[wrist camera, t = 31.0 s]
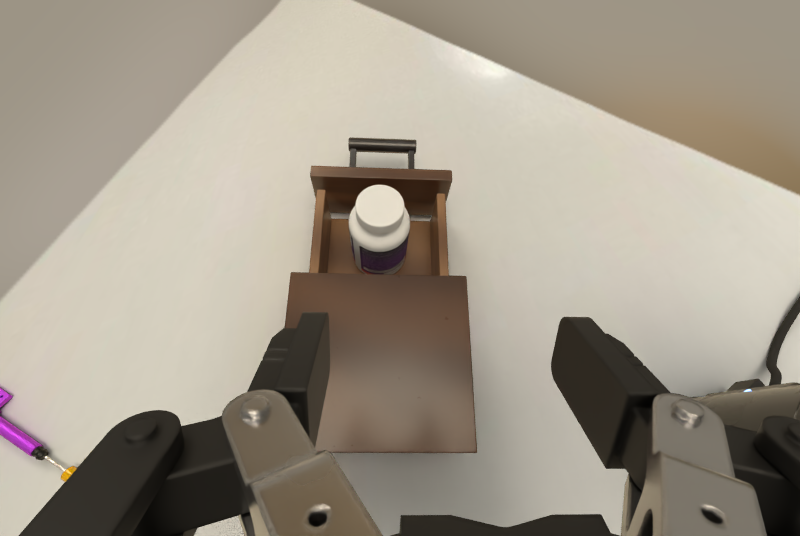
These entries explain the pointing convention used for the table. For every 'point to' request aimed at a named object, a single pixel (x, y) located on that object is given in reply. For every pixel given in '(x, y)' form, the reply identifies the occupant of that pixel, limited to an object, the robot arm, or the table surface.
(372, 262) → the pill bottle
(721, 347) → the table surface
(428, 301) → the cabinet
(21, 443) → the purple and yellow rod
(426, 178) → the drawer
